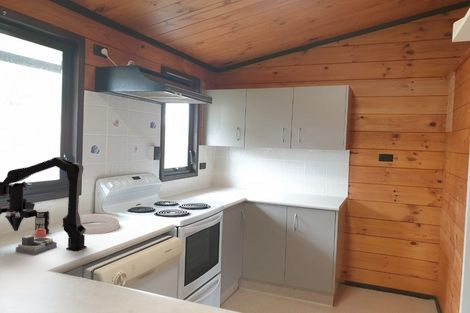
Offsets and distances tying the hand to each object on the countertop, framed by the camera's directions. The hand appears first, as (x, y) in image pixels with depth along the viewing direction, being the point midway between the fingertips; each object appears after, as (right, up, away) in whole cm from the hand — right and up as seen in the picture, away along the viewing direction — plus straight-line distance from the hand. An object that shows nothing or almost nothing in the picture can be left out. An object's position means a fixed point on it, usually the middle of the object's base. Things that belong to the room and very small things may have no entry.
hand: (16, 230), depth 164 cm
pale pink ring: (+19, -7, +43) cm, 47 cm away
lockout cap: (+4, -8, +13) cm, 15 cm away
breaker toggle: (+6, -6, -2) cm, 9 cm away
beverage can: (-3, -7, +27) cm, 28 cm away
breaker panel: (+9, -9, +1) cm, 12 cm away
